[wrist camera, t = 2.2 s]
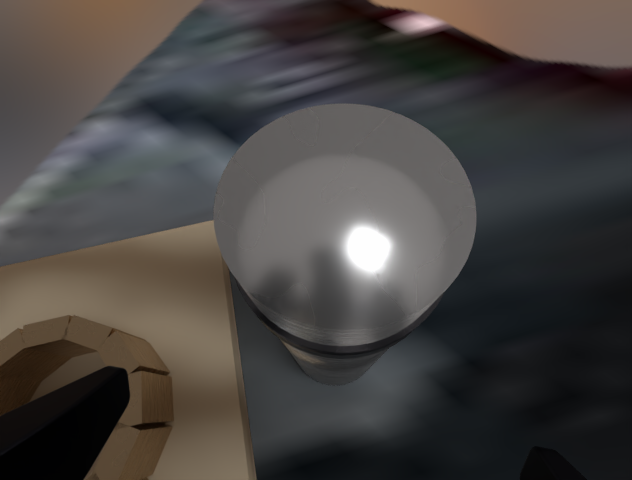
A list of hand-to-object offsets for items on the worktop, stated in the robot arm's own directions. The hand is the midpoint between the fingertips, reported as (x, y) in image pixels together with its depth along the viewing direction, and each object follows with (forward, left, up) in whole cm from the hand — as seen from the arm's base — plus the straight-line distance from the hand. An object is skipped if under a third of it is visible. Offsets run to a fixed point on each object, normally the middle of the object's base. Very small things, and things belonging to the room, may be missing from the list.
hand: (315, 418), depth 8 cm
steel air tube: (+3, -1, -10) cm, 11 cm away
